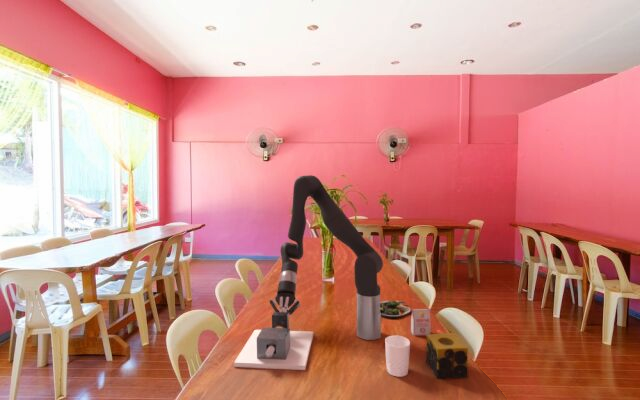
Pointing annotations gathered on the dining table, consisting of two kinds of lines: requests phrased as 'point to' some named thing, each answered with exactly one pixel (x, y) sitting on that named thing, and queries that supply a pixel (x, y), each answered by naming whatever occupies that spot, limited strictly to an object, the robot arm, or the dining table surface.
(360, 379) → the dining table surface
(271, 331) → the block
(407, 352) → the white cup
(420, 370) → the dining table surface
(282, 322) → the shaft
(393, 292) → the dining table surface
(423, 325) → the white cardboard box
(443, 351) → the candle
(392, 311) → the salad plate
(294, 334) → the base board
